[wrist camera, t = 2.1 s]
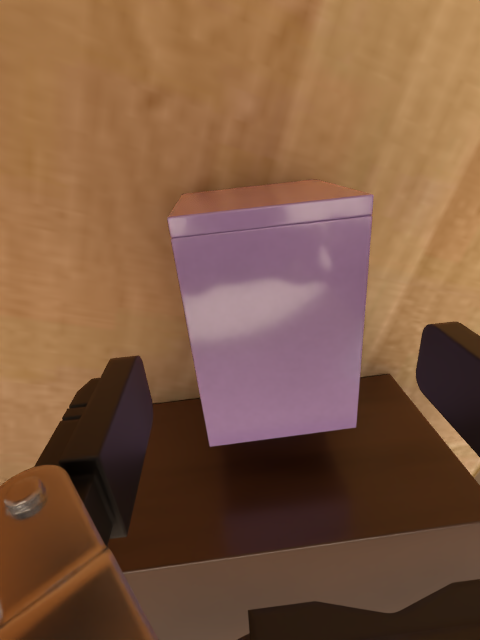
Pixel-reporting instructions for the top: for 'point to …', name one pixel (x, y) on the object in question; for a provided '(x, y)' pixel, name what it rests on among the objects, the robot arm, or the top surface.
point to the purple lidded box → (274, 305)
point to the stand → (296, 518)
